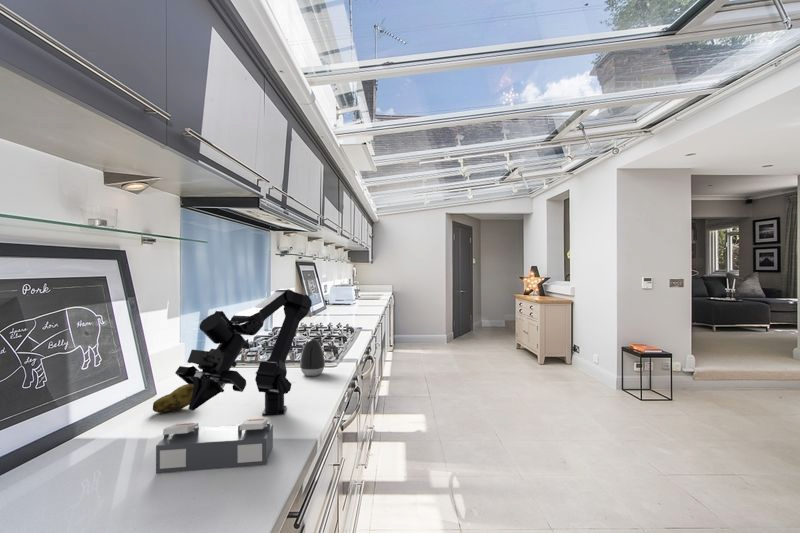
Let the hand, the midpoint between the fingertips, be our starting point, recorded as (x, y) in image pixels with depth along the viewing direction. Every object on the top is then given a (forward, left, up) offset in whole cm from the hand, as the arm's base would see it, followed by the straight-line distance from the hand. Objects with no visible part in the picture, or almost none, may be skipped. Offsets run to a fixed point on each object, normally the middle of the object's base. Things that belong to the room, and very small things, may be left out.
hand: (190, 409), depth 94 cm
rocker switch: (+4, +15, -3) cm, 16 cm away
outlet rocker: (+4, -1, -3) cm, 5 cm away
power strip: (+4, +7, -11) cm, 13 cm away
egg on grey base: (-68, +24, -11) cm, 73 cm away
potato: (-32, -15, -11) cm, 37 cm away
